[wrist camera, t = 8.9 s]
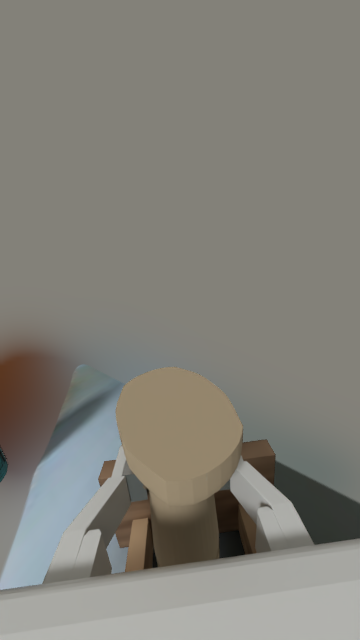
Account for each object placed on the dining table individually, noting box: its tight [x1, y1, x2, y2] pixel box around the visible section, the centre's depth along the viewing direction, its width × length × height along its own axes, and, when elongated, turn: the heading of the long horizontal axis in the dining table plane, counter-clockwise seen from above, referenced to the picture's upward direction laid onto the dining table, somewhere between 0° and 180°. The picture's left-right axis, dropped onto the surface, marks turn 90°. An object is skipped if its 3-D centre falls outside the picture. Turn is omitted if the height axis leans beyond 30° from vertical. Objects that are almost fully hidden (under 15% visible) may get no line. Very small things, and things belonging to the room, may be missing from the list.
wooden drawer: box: [98, 440, 275, 572], centre depth 13 cm, size 11×16×10 cm
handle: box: [116, 367, 243, 567], centre depth 10 cm, size 5×6×15 cm
